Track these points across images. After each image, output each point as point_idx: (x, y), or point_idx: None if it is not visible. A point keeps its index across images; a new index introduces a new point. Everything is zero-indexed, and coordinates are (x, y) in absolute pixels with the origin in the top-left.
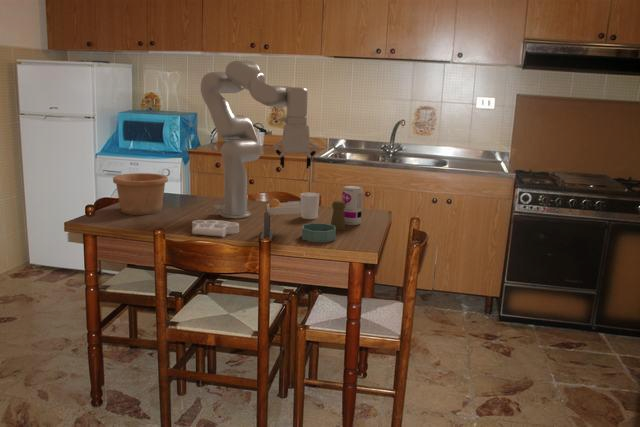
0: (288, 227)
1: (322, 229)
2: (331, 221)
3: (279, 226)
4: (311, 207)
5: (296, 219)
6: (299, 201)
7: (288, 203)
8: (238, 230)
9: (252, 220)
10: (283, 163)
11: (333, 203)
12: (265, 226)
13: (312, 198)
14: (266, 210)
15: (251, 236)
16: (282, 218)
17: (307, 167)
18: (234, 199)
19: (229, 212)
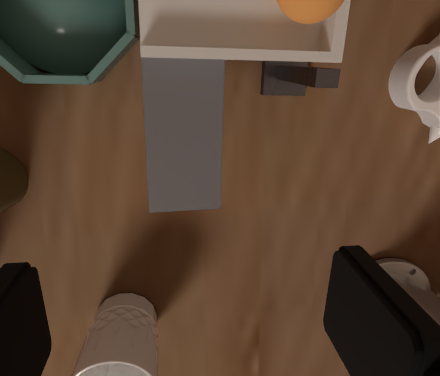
0: None
1: (43, 73)
2: (9, 184)
3: (235, 178)
4: (110, 323)
5: (173, 283)
6: (153, 192)
7: (218, 48)
8: (396, 71)
9: (328, 247)
10: (370, 275)
11: None
12: None
13: (99, 354)
14: (328, 68)
15: None
16: (224, 288)
17: (16, 265)
18: (429, 311)
19: (411, 280)
